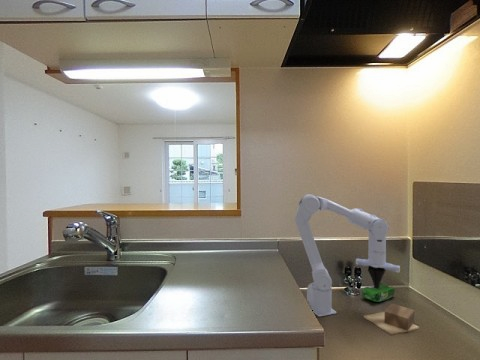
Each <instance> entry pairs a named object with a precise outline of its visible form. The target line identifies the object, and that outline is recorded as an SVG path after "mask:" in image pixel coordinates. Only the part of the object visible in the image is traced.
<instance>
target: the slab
mask: <svg viewBox="0 0 480 360" xmlns="http://www.w3.org/2000/svg"><path fill="white" fill-rule="evenodd" d="M384 312H385V323H387V324H389V325H392V326H395V327H398V328H401V329H404V330H407V332H409V331H408V330H409V328H410V327H411V326H412V324H414V323H415V309H412V308H408V307H405V306H402V305H399V304H396V303H391V304H390V305H389V306H388V307H387V308H386V309H385V310H384Z"/></svg>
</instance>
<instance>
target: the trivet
mask: <svg viewBox="0 0 480 360" xmlns="http://www.w3.org/2000/svg"><path fill="white" fill-rule="evenodd" d="M363 318H364V319H366V321H367V320H368V322H370V323H372V324H373V325H374V326H377V327H378V328H380V329H382V330H383V331H384V332H386V333H387V334H389V336H394V335H398V334H402V333H406V332H411V331H415V330H419V329H420V326H419V325H416V324H414V323H413V324H412V326H411V327H410V328H409V330H408V331H407V330H404V329H401V328H398V327H395V326H392V325H389V324H387V323H385V311H380V312H375V313H371V314H366V315H363Z"/></svg>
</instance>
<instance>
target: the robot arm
mask: <svg viewBox="0 0 480 360" xmlns="http://www.w3.org/2000/svg"><path fill="white" fill-rule="evenodd" d="M318 211H330V212H334V213H336V214H338V215H340V216H343V217H345V218H347V220H348V222H349V223H350V224H352V225H355V226H357V227H360V228H362V229H364V230H367V231H368V243H367V244H368V247H367V248H368V249H367V250H368V258H367V259H366V258H365V259H364V258H358V257H357V258H356V259H355V265H356V266H363V267H368V269H367V272H368V273H369V275H370V277H371V279H372V283H373V285H374V288H377V289H379V287H380V283H382V279H383V278H384V277H383V276H384V274H385V272H386V271H390V272H395V273H399V274H400V272H401V265H396V264H393V263H389V262H387V254H386V253H387V233H388V232H389V230H390V227H389V226H388V223H387V222H386V221H385V220H384V219H381V218H380V217H377V216H376V214H374V213H372V214H370V213H368V212H366V211H364V209H362V208H360V207H359V208H356V207H355V208H352V209H349V208H347V207H346V206H342V205H341V204H338V203H336V202H334V201H332V200H329V198H324V197H321V196H318V195H316V196H315V195H314V194H312V193H307V194H305V195H303V196H302V198H300V200H299V201H298V205H297V210H296V213H295V217H294V221H295V224H296V227H297V230H298V233H299V235H300V238H301V242H302V244H303V246H304V251H305V253H306V255H307V259H308V262H309V264H310V267H311V276H312V279H313V282H311V283H309V284H308V286H307V288H306V302H307V301H308V303H309V305H310V306H311V308H312V310H313V312H314V313H313V312H312V313H313V314H315V315H316V316H317V317H324V316H330V315H335V314H337V311H336V310H334V308H332V301H333V299H332V295H333V294H332V285H333V280H332V278H331V276H330V274H329V271H328V269H327V268H326V267H325V266H324V262H323V261H322V260H323V259H322V258H321V255H320V251H319V249H318V245H317V243H316V241H315V238H314V234H313V231H312V230H311V227H310V226H311V225H310V224H309V222H310V220H311V218H312V216H313V215H314V214H316V213H317V212H318Z"/></svg>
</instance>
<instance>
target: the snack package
mask: <svg viewBox="0 0 480 360" xmlns="http://www.w3.org/2000/svg"><path fill="white" fill-rule="evenodd" d="M361 295H362V297H364V298H365V299H367V300H370V301H372V302H375V303H380V302H384V301H387V300H389V299H391V298H393V297H394V295H395V288H394V287H393V286H391V285H389V284H386V283H382V282H380V287H379V289H377V288H374V284H373V285H372V284H371V285H368V286H365V287H364V288H363V289H362V290H361Z"/></svg>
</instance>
